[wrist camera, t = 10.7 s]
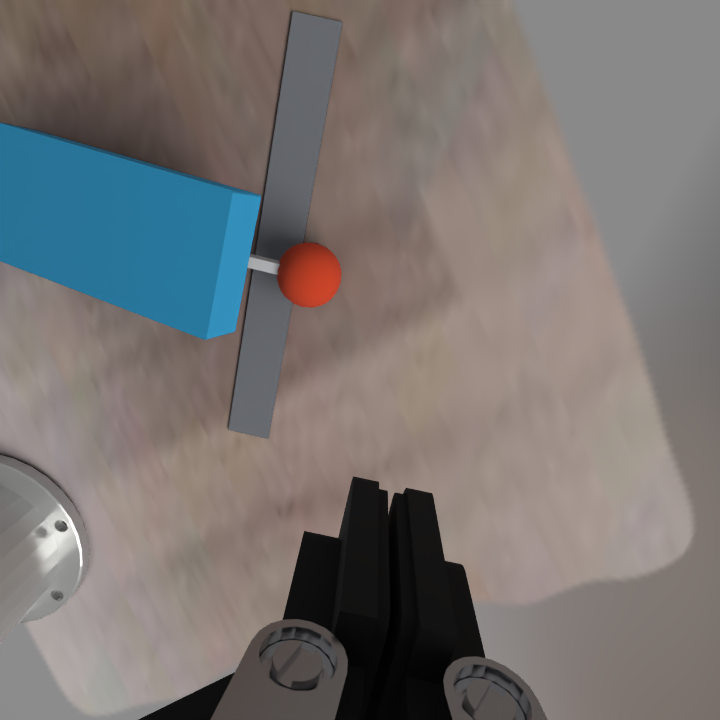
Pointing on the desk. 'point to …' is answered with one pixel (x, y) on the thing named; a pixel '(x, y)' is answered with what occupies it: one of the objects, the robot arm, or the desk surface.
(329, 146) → the desk surface
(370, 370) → the desk surface
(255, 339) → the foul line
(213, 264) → the lever
